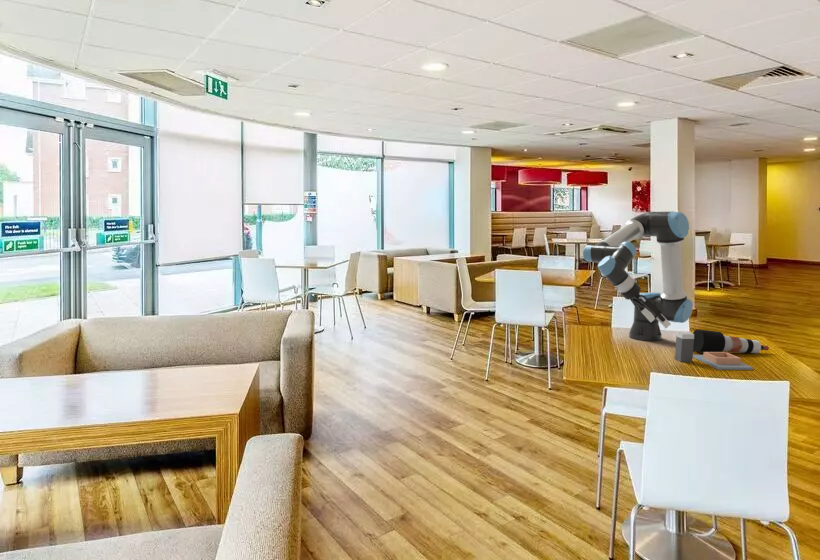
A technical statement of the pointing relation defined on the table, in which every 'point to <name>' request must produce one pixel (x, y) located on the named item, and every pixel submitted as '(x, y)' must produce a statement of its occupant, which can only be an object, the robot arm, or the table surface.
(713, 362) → the dock
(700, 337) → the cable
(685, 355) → the plug
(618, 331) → the table surface
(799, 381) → the table surface
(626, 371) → the table surface
